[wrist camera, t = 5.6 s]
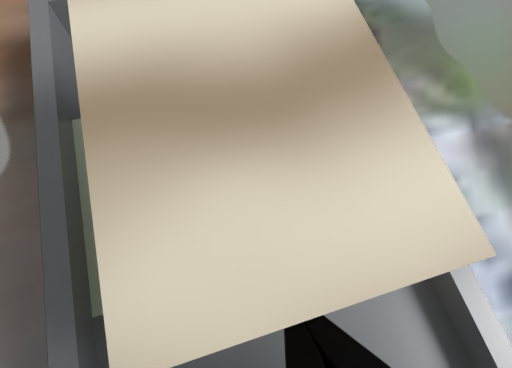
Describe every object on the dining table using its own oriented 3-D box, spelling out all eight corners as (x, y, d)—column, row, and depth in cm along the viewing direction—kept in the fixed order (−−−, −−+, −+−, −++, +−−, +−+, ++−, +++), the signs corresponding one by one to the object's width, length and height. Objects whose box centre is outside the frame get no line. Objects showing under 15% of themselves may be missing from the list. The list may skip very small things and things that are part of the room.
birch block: (355, 278, 14) (496, 255, 6) (184, 334, 13) (112, 387, 5) (286, 103, 17) (327, -47, 10) (145, 134, 16) (65, -14, 8)
